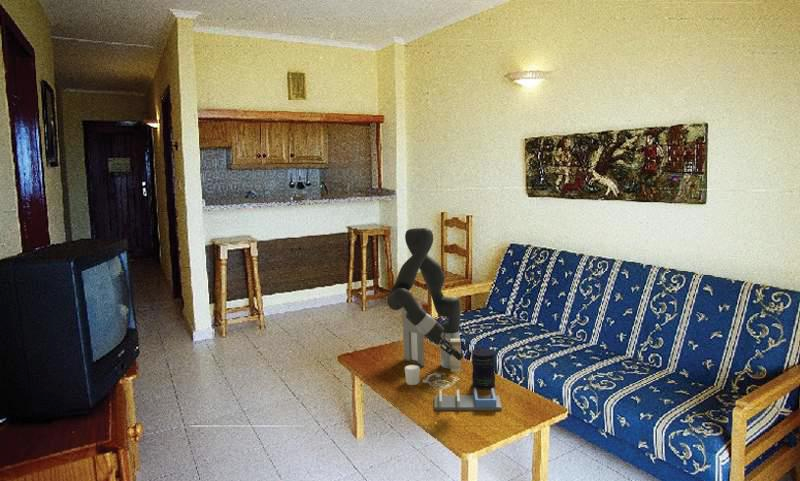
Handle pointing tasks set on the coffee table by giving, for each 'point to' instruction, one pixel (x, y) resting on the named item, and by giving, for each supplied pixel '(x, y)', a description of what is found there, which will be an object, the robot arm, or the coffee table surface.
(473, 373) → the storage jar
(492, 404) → the grey slotted base
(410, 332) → the cabinet
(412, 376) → the beige cylinder
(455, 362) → the peg
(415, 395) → the coffee table surface
